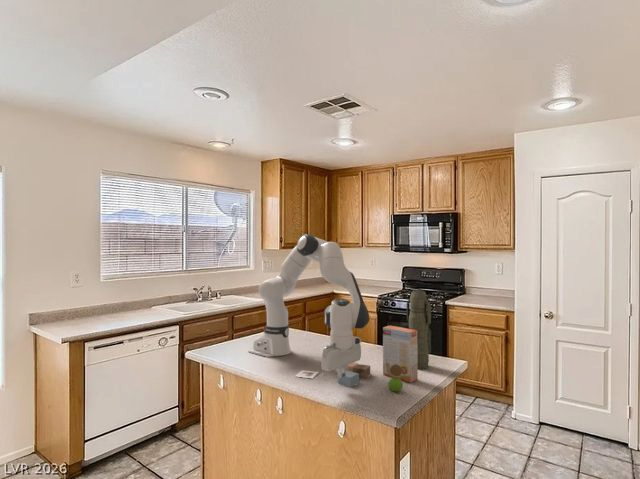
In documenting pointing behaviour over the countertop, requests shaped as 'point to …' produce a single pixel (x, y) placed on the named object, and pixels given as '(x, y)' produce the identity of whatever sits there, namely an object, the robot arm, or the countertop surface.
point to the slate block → (349, 379)
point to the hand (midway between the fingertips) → (341, 376)
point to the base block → (362, 370)
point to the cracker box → (400, 351)
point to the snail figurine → (394, 377)
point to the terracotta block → (351, 367)
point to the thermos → (420, 324)
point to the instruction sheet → (306, 374)
